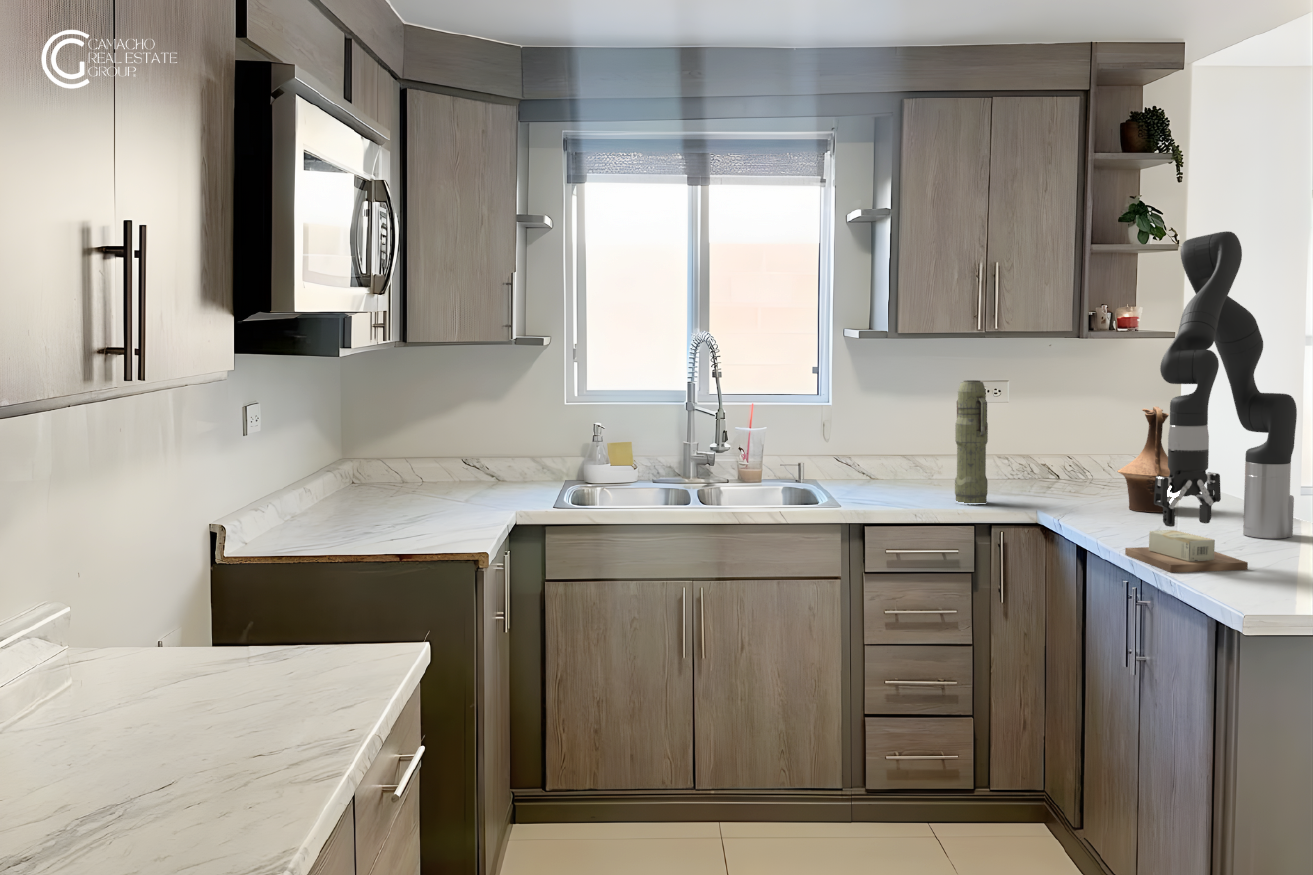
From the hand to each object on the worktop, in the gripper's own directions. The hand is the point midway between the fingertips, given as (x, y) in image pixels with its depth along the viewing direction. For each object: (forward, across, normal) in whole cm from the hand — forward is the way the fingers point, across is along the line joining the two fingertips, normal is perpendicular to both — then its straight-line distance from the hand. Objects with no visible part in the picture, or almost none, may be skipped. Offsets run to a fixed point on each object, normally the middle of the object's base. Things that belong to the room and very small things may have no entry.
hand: (1187, 524), depth 224 cm
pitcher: (+9, -39, -59) cm, 71 cm away
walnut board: (+8, 0, 0) cm, 8 cm away
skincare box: (+4, +2, +6) cm, 8 cm away
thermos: (+8, -1, -87) cm, 88 cm away
